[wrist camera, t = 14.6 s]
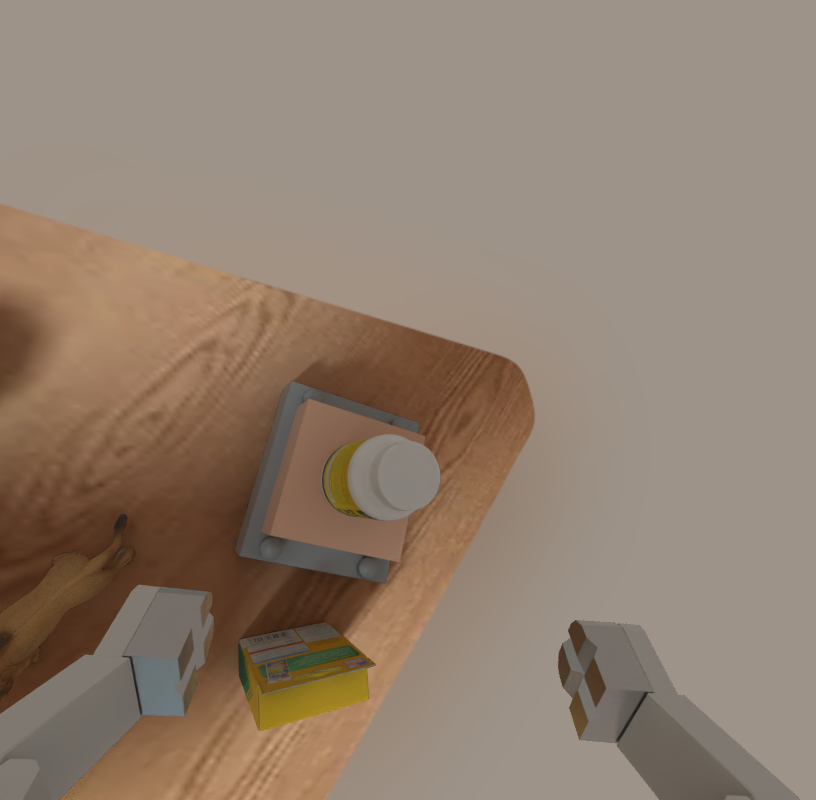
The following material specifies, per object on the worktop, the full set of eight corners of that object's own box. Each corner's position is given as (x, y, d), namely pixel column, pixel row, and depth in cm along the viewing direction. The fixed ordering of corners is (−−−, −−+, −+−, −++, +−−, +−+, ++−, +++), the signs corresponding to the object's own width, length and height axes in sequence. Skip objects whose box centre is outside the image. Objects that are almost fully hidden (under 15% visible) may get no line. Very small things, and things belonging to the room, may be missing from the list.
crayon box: (238, 679, 38) (261, 748, 27) (238, 638, 38) (259, 691, 28) (329, 658, 41) (380, 712, 31) (327, 620, 41) (377, 661, 31)
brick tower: (368, 576, 44) (406, 592, 36) (234, 550, 39) (246, 562, 32) (401, 428, 48) (441, 416, 40) (282, 390, 43) (303, 369, 36)
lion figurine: (7, 733, 32) (-51, 812, 24) (-77, 699, 30) (-169, 771, 22) (155, 530, 37) (149, 539, 29) (90, 494, 36) (65, 493, 28)
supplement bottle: (322, 522, 35) (370, 530, 26) (315, 447, 35) (360, 430, 27) (391, 511, 37) (456, 515, 28) (383, 441, 38) (445, 424, 29)
